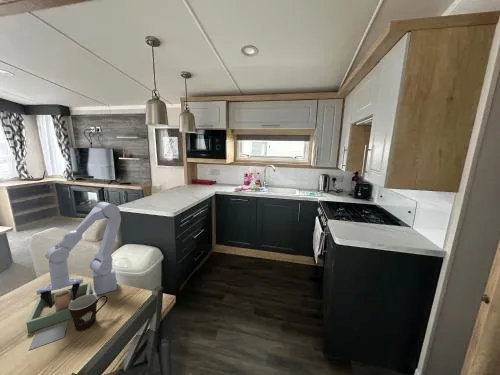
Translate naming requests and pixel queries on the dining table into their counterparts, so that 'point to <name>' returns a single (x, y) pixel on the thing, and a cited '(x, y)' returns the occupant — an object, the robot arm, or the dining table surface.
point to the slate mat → (48, 335)
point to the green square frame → (55, 317)
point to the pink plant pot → (62, 300)
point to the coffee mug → (84, 311)
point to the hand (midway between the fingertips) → (63, 303)
